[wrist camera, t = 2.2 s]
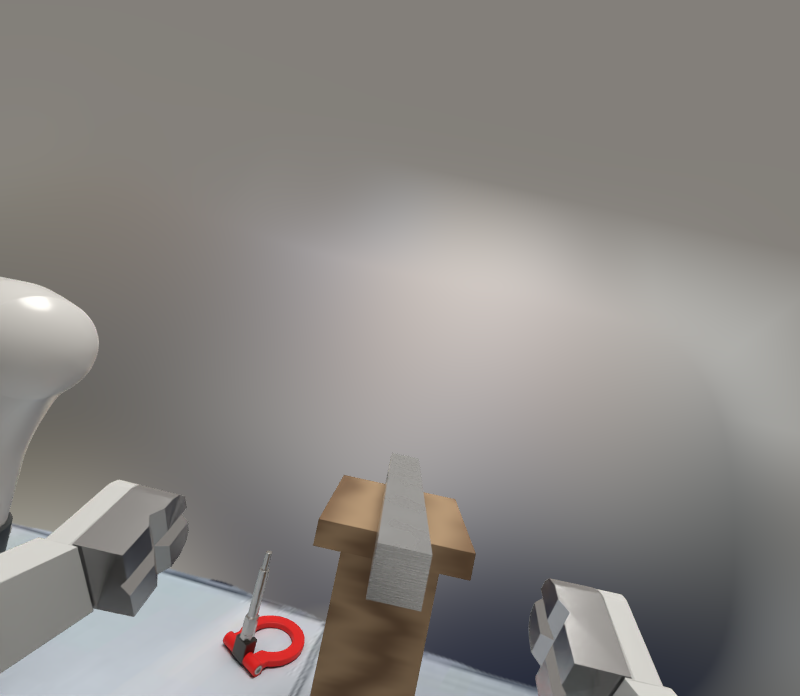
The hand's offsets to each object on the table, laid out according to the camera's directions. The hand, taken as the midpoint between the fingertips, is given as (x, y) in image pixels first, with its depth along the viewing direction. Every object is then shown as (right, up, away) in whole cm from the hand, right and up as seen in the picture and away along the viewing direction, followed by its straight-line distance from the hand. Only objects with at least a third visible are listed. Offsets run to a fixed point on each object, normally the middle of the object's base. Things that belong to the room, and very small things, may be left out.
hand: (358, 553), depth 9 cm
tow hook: (-16, -34, +42) cm, 56 cm away
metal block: (+1, -10, +23) cm, 25 cm away
